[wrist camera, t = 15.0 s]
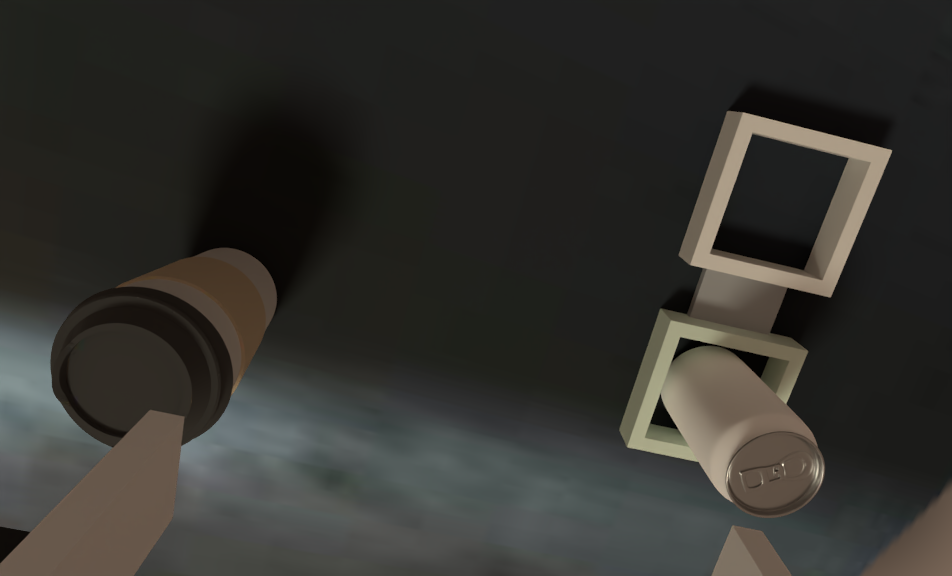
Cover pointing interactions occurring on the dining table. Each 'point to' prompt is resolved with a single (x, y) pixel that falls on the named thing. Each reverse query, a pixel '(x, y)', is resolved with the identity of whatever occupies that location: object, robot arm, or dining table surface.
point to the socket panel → (749, 274)
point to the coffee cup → (163, 344)
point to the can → (742, 433)
